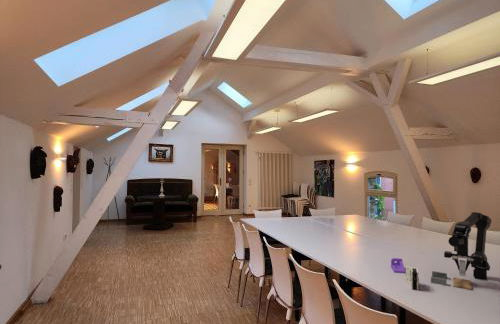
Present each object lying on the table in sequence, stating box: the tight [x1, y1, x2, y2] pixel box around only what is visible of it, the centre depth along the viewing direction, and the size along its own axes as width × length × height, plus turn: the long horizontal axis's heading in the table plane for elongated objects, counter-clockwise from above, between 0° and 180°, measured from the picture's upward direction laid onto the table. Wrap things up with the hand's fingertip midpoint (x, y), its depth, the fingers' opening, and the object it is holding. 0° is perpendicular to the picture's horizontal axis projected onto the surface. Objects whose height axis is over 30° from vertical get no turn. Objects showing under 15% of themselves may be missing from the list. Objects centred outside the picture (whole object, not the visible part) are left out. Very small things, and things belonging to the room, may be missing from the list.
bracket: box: [390, 257, 406, 275], centre depth 218 cm, size 12×7×7 cm, turn 166°
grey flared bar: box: [458, 259, 467, 277], centre depth 193 cm, size 3×8×8 cm, turn 148°
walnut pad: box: [452, 277, 473, 291], centre depth 193 cm, size 9×16×1 cm, turn 148°
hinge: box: [405, 265, 420, 291], centre depth 189 cm, size 14×5×10 cm, turn 168°
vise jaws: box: [430, 270, 448, 286], centre depth 199 cm, size 8×16×3 cm, turn 148°
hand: (462, 270), depth 193 cm, fingers closed on grey flared bar, 3 cm apart
